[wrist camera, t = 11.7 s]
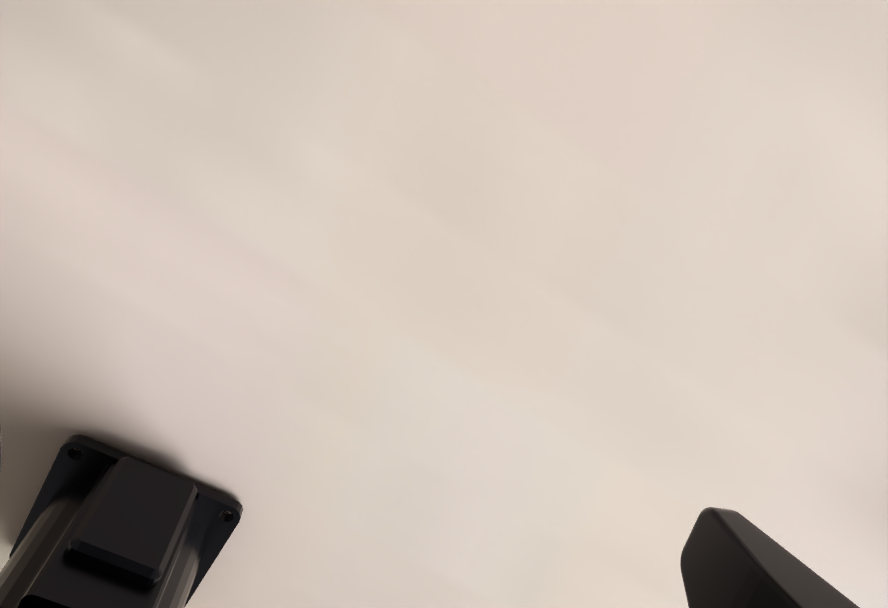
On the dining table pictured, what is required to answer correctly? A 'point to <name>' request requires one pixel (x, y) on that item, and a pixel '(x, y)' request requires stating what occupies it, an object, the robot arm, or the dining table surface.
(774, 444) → the dining table surface
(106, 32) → the dining table surface
